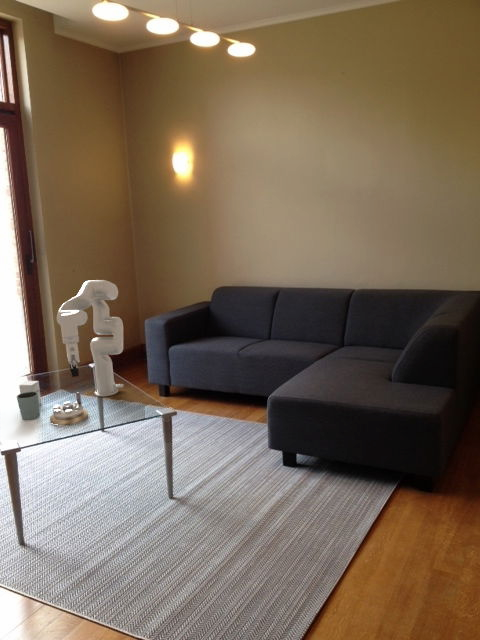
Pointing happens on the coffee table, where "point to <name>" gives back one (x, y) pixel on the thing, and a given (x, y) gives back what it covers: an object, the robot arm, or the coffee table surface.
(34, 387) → the supplement box
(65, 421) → the round tan disc base
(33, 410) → the grey-green cup
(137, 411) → the coffee table surface
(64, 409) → the disc with radial blocks
